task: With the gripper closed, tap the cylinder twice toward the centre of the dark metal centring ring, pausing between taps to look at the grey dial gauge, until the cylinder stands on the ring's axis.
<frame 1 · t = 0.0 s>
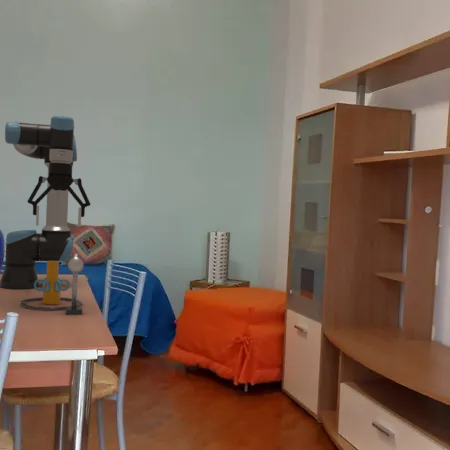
hand: (58, 226, 191), 28 cm above the table, fingers open, 13 cm apart
centring ring: (51, 304, 199), on the table
cylinder: (51, 303, 201), resting in centring ring
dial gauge: (73, 312, 186), on the table
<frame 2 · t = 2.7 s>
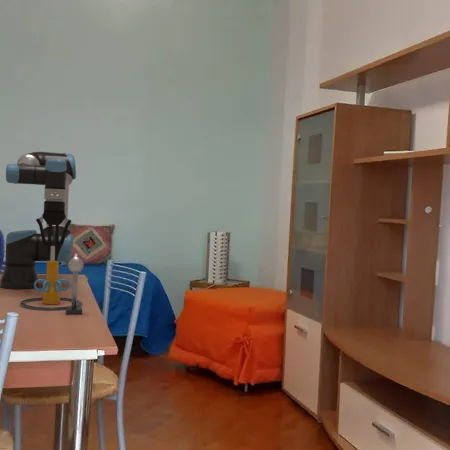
hand: (52, 263, 213), 13 cm above the table, fingers closed
nothing on the table moved.
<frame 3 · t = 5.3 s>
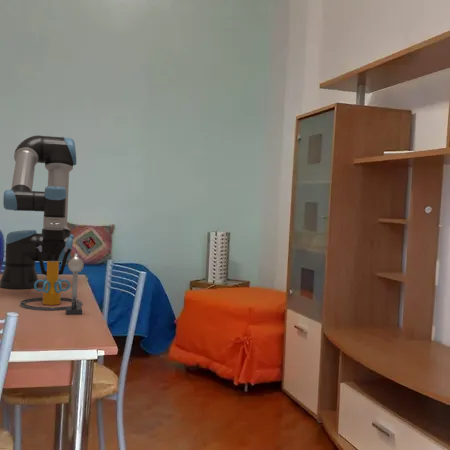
hand: (51, 293, 207), 3 cm above the table, fingers closed
cylinder: (51, 304, 200), resting in centring ring, touching gripper
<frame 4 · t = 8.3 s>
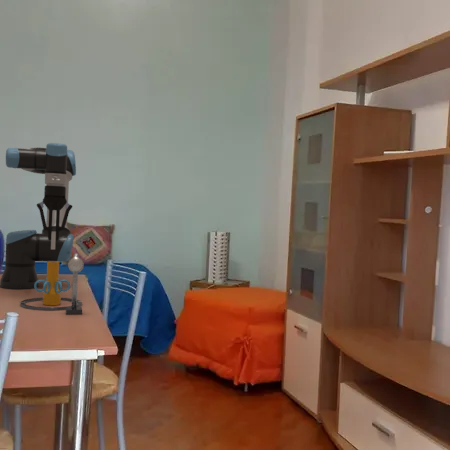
hand: (53, 249, 210), 18 cm above the table, fingers closed
cylinder: (51, 304, 200), resting in centring ring
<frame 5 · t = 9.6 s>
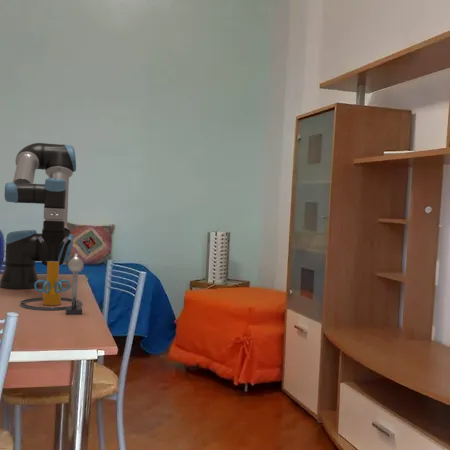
hand: (51, 283, 210), 6 cm above the table, fingers closed
nothing on the table moved.
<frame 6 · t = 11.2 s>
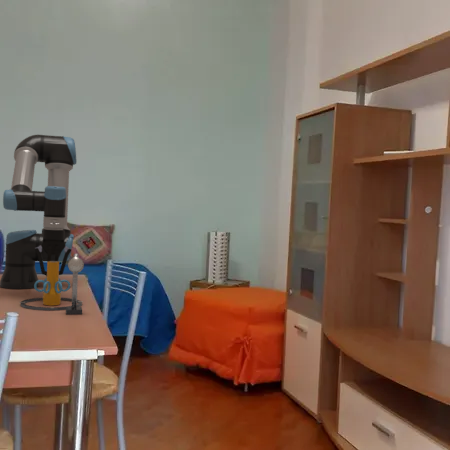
hand: (51, 293, 206), 3 cm above the table, fingers closed
cylinder: (51, 304, 199), resting in centring ring, touching gripper
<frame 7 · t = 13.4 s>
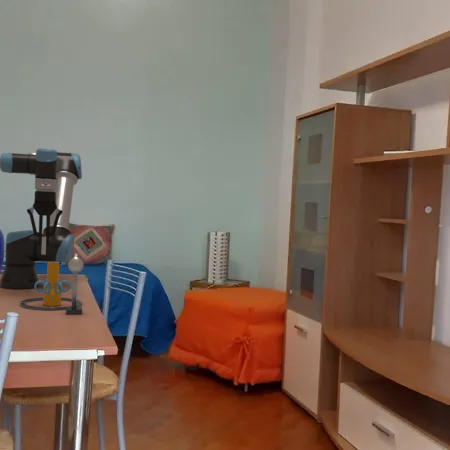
hand: (43, 254, 211), 16 cm above the table, fingers closed
cylinder: (51, 305, 198), resting in centring ring
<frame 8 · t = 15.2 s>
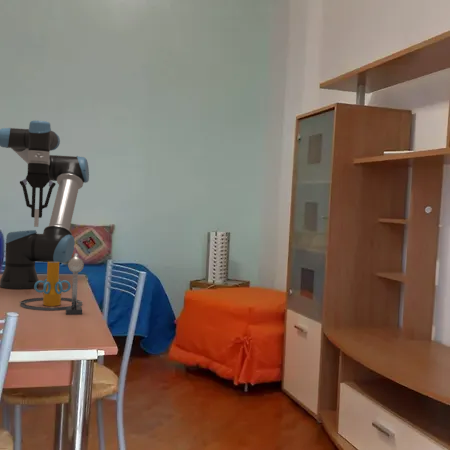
hand: (36, 226, 211), 26 cm above the table, fingers closed
nothing on the table moved.
at the end: cylinder 0.3 cm from the centring ring (horizontally); cylinder tilted 0° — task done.
